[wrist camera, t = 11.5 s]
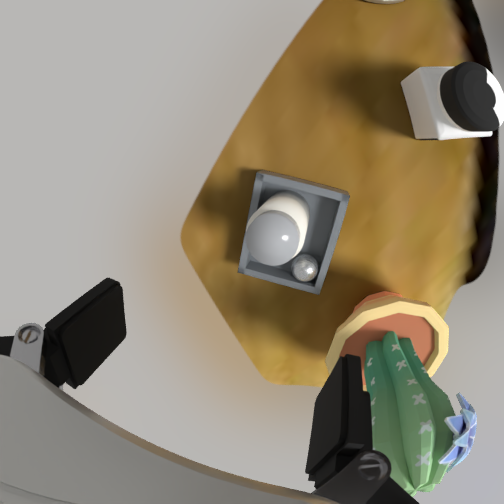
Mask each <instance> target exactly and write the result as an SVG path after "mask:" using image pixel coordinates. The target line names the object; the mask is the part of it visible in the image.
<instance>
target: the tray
mask: <svg viewBox="0 0 504 504" xmlns="http://www.w3.org/2000/svg"><path fill="white" fill-rule="evenodd" d="M282 190H291V191H295V192H297V193H299V194H301V195H302V196H303V197H304V198H305V199H306V201H307V203H308V205H309V208H310V218H309V223H308V227H307V232H306V236H305V240H304V244H303V247H302V249H301V250H300V252H299V253H298V254H297V255H296V256H295V257H293V258H292V259H290V260H289V261H288V262H286V263H284V264H281V265H276V266H272V265H266V264H263V263H261V262H259V261H258V260H256V259H255V258H254V257H253V256H252V255H251V254H250V252H249V250H248V248H247V245H246V231H245V236H244V241H243V247H242V252H241V257H240V263H239V268H238V273H242V274H245V275H249V276H252V277H256V278H259V279H263V280H267V281H270V282H274V283H277V284H281V285H285V286H288V287H292V288H296V289H299V290H303V291H307V292H310V293H314V294H318V295H319V294H320V291H321V288H322V285H323V282H324V280H325V277H326V274H327V271H328V268H329V264H330V261H331V258H332V255H333V252H334V249H335V246H336V242H337V239H338V236H339V233H340V229H341V226H342V222H343V219H344V215H345V212H346V208H347V205H348V201H349V198H350V195H349V193H348V192H347V191H344V190H341V189H337V188H334V187H330V186H326V185H323V184H319V183H315V182H311V181H307V180H303V179H299V178H295V177H291V176H287V175H283V174H279V173H274V172H270V171H265V170H261V171H258V172H257V173H256V178H255V184H254V189H253V194H252V199H251V204H250V210H249V215H248V220H247V223H248V221H249V219H250V217H251V216H252V215H253V214H254V213H255V212H256V211H257V210H258V209H259V208H260V207H261V206H262V205H263V204H264V203H265V202H266V201H267V200H268V199H269V198H270V197H271V196H272V195H274V194H275V193H277V192H279V191H282ZM246 227H247V225H246ZM302 254H309V255H311V256H313V257H314V258H315V259H316V260H317V262H318V266H319V270H318V274H317V275H316V277H315V278H314V279H312V280H311V281H307V282H302V281H299V280H297V279H296V278H295V277H294V276H293V274H292V271H291V265H292V262H293V260H294V259H295V258H296V257H297V256H299V255H302Z"/></svg>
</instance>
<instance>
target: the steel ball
mask: <svg viewBox="0 0 504 504" xmlns="http://www.w3.org/2000/svg"><path fill="white" fill-rule="evenodd" d="M318 270H319V266H318V262H317V260H316V259H315V258H314V257H313V256H311V255H309V254H302V255H299V256H297V257H296V258H295V259H294V260H293V262H292V265H291V271H292V274H293V276H294V277H295V278H296V279H297V280H299V281H302V282H307V281H311V280H312V279H314V278H315V277H316V275H317V274H318Z"/></svg>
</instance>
